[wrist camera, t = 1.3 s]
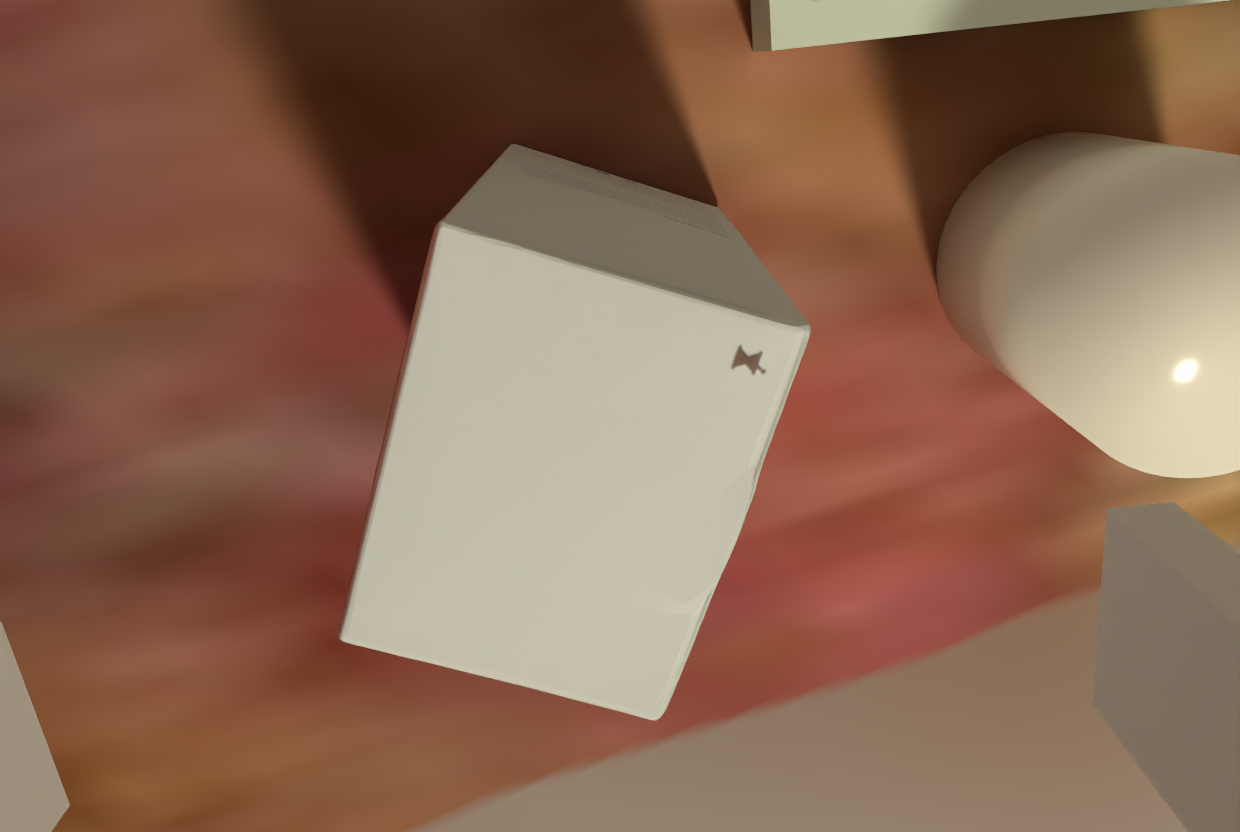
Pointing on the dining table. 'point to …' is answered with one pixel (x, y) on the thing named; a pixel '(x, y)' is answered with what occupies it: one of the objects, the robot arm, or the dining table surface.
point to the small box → (571, 435)
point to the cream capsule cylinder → (1108, 292)
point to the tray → (911, 17)
